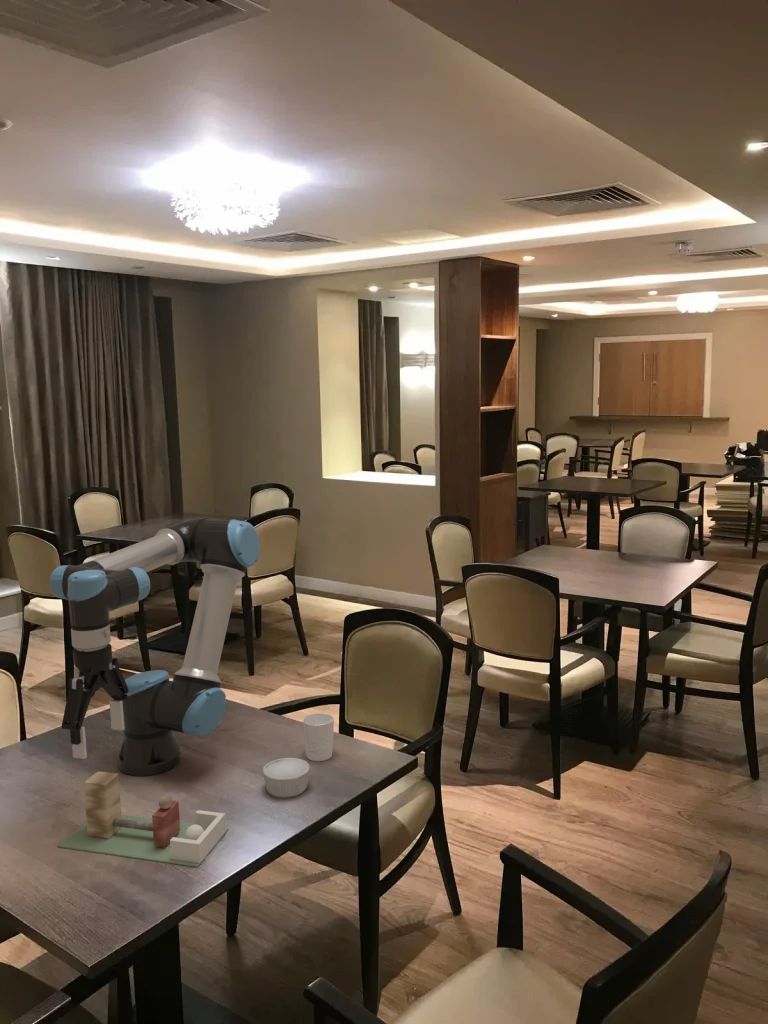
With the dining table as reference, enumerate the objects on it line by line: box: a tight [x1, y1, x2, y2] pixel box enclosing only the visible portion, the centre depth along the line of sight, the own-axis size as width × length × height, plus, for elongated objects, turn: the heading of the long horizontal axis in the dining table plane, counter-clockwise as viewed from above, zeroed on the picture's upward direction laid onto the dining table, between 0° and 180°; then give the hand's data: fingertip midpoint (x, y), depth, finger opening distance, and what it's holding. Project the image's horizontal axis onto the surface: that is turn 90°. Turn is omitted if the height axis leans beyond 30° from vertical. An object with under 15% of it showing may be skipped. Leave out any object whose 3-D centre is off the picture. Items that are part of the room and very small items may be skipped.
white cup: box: [302, 712, 335, 762], centre depth 204 cm, size 8×8×10 cm
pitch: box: [57, 814, 229, 868], centre depth 168 cm, size 32×14×1 cm, turn 76°
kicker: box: [83, 771, 180, 847], centre depth 167 cm, size 18×6×12 cm, turn 76°
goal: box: [170, 809, 227, 864], centre depth 164 cm, size 6×12×4 cm, turn 166°
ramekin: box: [262, 757, 311, 799], centre depth 188 cm, size 11×11×5 cm
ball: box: [185, 825, 204, 840], centre depth 165 cm, size 4×4×4 cm
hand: (99, 742), depth 167 cm, fingers open, 13 cm apart
